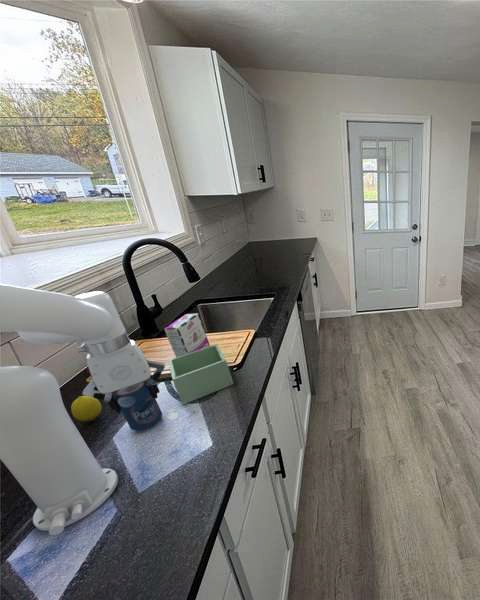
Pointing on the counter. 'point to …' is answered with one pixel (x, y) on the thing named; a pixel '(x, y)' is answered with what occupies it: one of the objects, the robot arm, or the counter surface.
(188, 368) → the bin
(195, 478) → the counter surface
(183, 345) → the candy bar box
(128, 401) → the soda can
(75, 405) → the lemon
